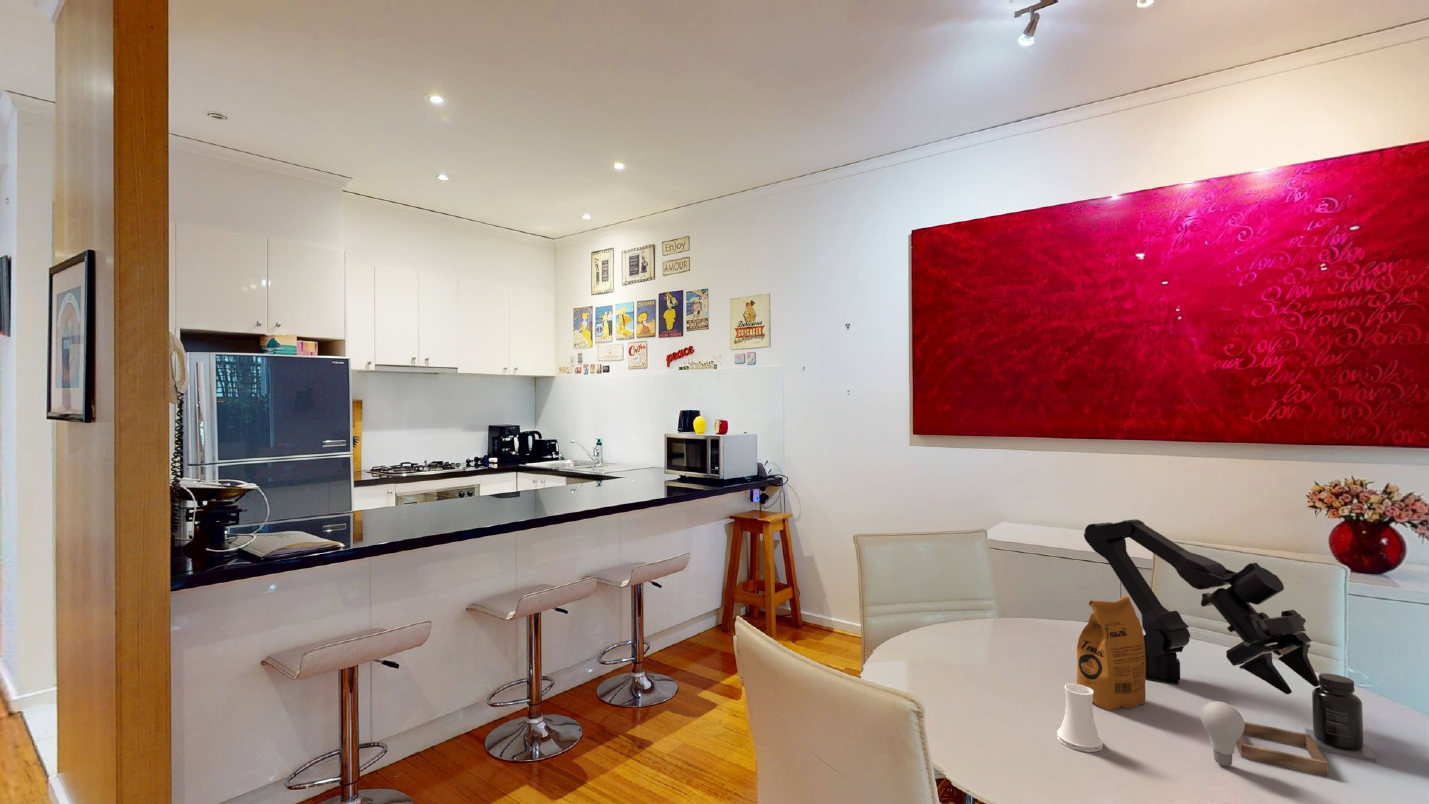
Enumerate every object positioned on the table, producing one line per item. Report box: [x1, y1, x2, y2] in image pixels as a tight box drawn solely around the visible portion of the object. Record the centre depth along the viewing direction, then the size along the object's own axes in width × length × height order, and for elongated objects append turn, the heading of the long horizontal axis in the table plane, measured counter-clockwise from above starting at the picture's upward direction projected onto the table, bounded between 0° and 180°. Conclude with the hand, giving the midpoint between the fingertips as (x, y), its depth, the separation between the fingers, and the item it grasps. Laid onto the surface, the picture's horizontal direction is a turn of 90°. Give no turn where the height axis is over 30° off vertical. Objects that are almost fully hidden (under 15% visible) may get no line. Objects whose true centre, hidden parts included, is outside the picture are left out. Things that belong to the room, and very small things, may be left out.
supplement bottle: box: [1311, 672, 1365, 750], centre depth 120 cm, size 7×7×12 cm
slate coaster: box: [1304, 727, 1377, 762], centre depth 120 cm, size 8×8×1 cm
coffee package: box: [1076, 595, 1147, 712], centre depth 139 cm, size 10×12×22 cm
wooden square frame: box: [1235, 721, 1329, 777], centre depth 118 cm, size 12×12×2 cm
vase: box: [1056, 683, 1104, 753], centre depth 121 cm, size 8×8×10 cm
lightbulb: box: [1200, 701, 1245, 767], centre depth 113 cm, size 6×6×11 cm
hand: (1304, 689), depth 125 cm, fingers open, 9 cm apart
